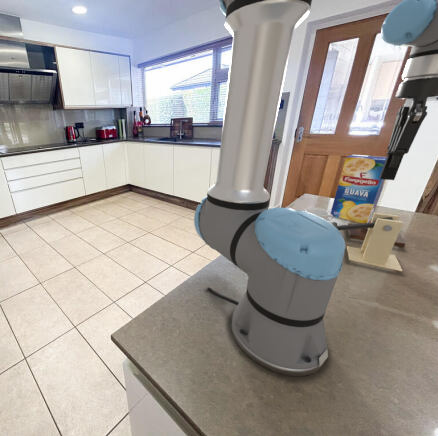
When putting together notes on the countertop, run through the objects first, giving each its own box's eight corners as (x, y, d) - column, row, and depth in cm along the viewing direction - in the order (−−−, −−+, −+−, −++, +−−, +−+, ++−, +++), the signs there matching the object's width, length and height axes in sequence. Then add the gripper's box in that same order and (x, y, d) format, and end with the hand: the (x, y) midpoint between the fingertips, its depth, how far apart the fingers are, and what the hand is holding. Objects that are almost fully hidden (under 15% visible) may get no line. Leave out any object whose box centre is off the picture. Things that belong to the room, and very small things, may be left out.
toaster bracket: (348, 263, 62) (363, 219, 57) (345, 249, 68) (359, 208, 63) (400, 274, 57) (422, 227, 52) (393, 258, 63) (412, 215, 58)
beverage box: (335, 210, 93) (352, 154, 84) (372, 218, 85) (394, 157, 76) (329, 215, 90) (345, 157, 81) (366, 224, 81) (389, 160, 73)
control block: (348, 240, 72) (352, 229, 71) (346, 229, 79) (349, 218, 77) (402, 250, 66) (408, 238, 64) (395, 237, 73) (400, 225, 71)
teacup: (301, 228, 81) (304, 215, 80) (295, 216, 90) (297, 205, 88) (335, 230, 78) (339, 218, 76) (325, 219, 87) (328, 207, 85)
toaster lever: (332, 237, 63) (330, 228, 62) (331, 228, 67) (330, 220, 67) (397, 232, 55) (395, 223, 55) (391, 223, 60) (390, 214, 59)
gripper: (461, 73, 47) (413, 186, 56) (437, 79, 57) (399, 175, 66) (408, 78, 51) (372, 183, 60) (394, 83, 61) (364, 172, 70)
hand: (386, 178), depth 63 cm, fingers closed
